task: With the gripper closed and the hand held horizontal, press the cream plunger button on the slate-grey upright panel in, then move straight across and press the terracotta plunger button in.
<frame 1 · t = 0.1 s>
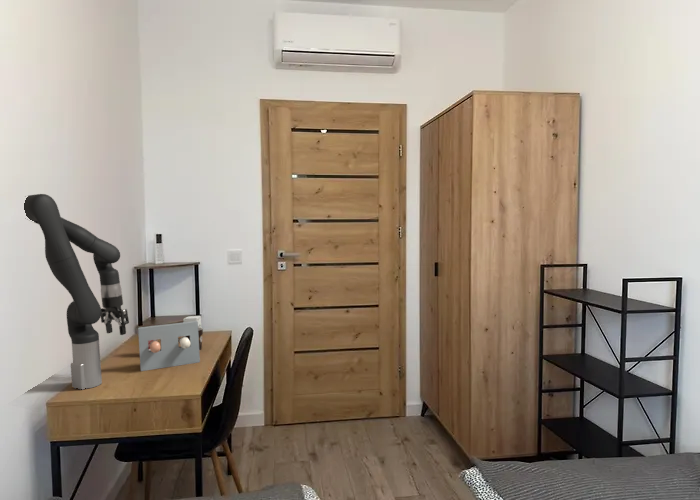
hand: (116, 333, 194), 17 cm above the table, tool pointing down, fingers open, 8 cm apart
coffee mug: (197, 349, 234), on the table
panel: (170, 365, 206), on the table
soda can: (150, 355, 225), on the table
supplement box: (193, 340, 253), on the table
cream button: (184, 342, 205), point 10 cm above the table, slide at 0.0 cm
terracotta button: (154, 346, 200), point 10 cm above the table, slide at 0.0 cm
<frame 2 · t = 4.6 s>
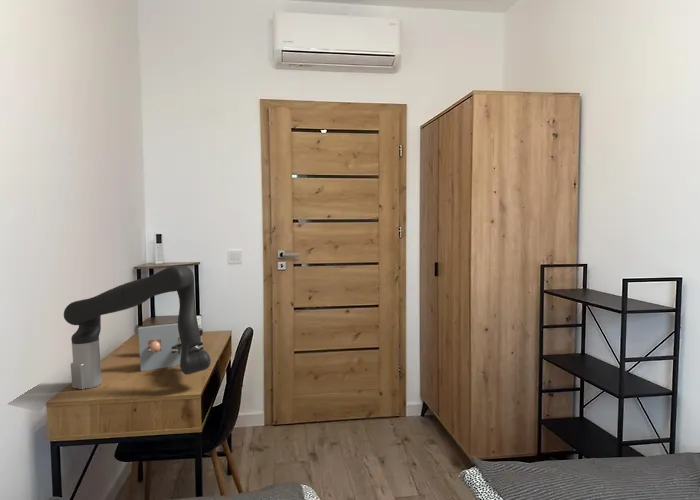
hand: (185, 343, 203), 10 cm above the table, tool horizontal, fingers closed
cream button: (184, 342, 206), point 10 cm above the table, slide at 1.0 cm, touching gripper
everything else where it was.
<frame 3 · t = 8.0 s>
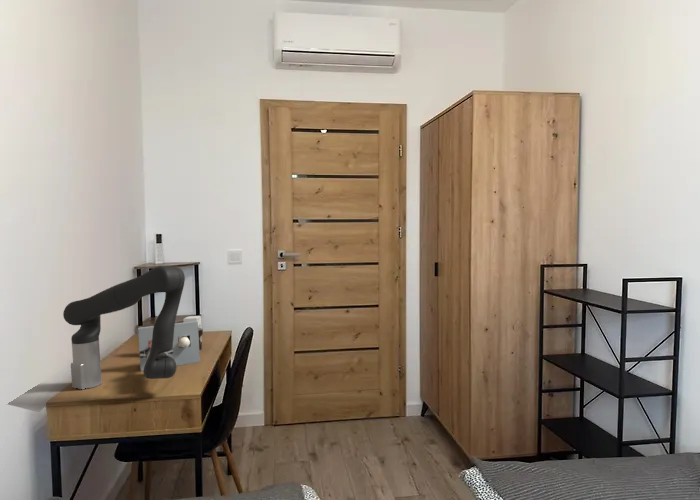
hand: (155, 347, 198), 10 cm above the table, tool horizontal, fingers closed
cream button: (184, 341, 207), point 10 cm above the table, slide at 2.2 cm
terracotta button: (154, 346, 200), point 10 cm above the table, slide at 0.1 cm, touching gripper
everything else where it was.
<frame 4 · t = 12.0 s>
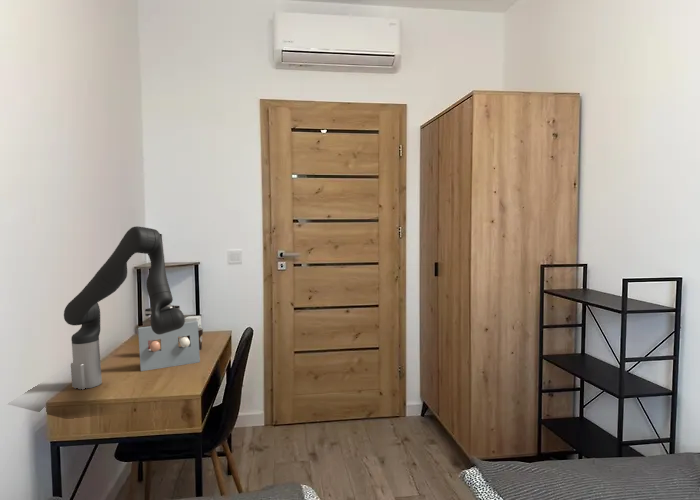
hand: (161, 307, 189), 28 cm above the table, tool horizontal, fingers closed
terracotta button: (154, 345, 202), point 10 cm above the table, slide at 2.2 cm
everything else where it was.
at the end: cream button slide at 2.2 cm; terracotta button slide at 2.2 cm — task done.
